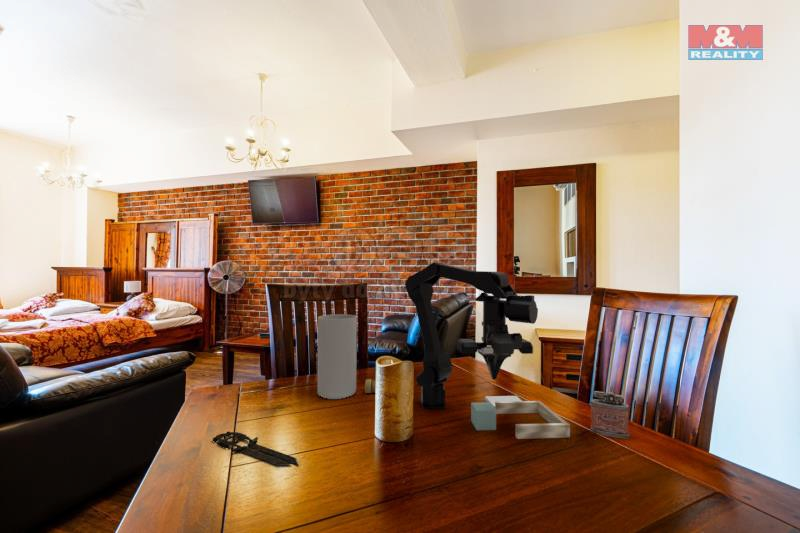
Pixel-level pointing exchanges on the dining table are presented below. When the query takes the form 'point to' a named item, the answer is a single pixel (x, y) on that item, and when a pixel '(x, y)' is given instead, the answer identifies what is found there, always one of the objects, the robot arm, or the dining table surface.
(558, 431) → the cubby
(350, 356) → the cylinder vase
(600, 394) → the lighter
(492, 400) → the ceramic tile
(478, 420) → the cube
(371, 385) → the gavel
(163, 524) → the dining table surface
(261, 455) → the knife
